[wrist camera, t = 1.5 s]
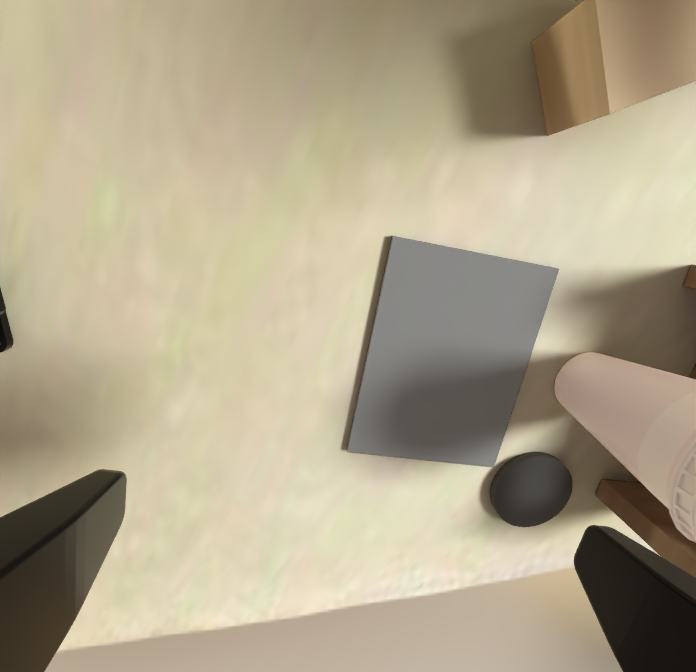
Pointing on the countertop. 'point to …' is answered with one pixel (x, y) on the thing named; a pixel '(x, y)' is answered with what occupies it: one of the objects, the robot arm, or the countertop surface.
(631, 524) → the cubby
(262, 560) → the countertop surface
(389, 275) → the mat
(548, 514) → the dark grey disc
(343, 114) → the countertop surface
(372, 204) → the countertop surface
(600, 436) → the smoothie
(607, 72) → the oak cube
